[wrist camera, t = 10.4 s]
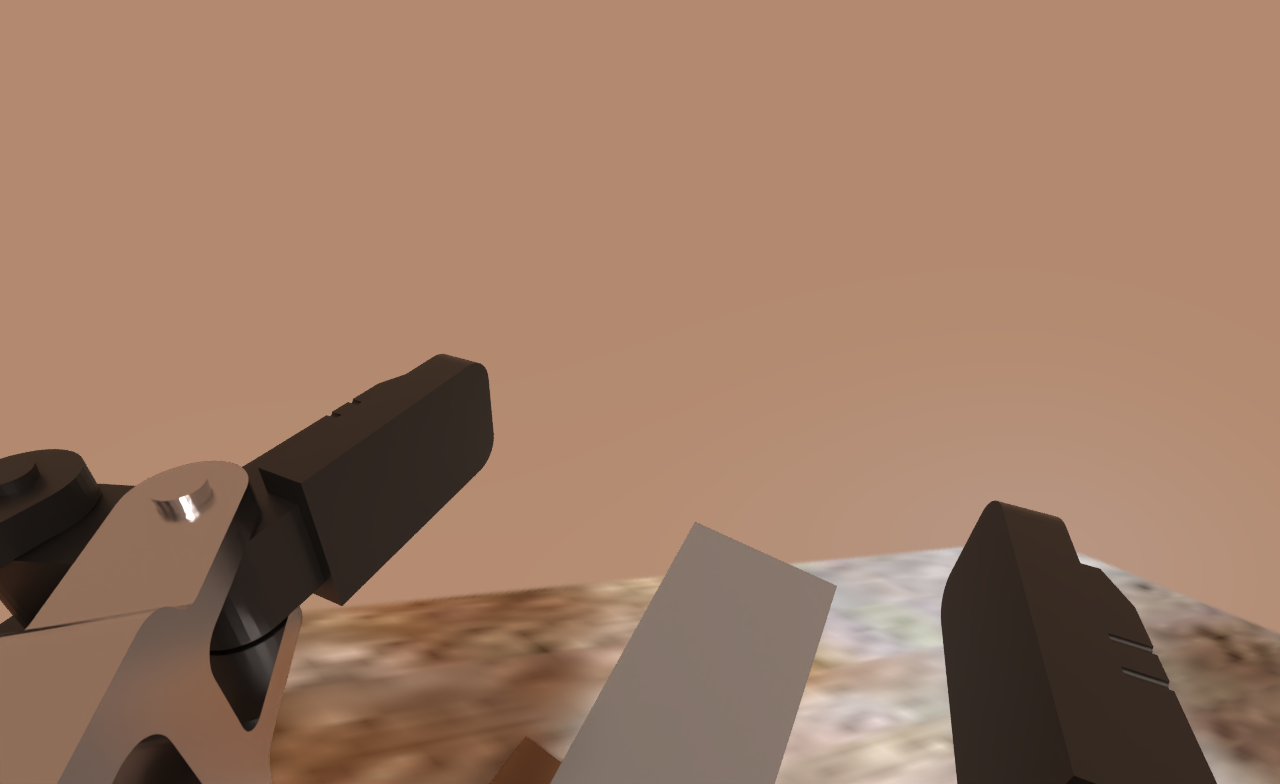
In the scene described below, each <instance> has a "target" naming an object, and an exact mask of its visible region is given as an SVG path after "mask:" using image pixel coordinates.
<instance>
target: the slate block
mask: <svg viewBox="0 0 1280 784" xmlns="http://www.w3.org/2000/svg"><path fill="white" fill-rule="evenodd" d="M836 587H837V586H836V585H834V584H831V583H829V582H827V581H825V580H822V579H820V578H818V577H816V576H814V575H811V574H809V573H807V572H805V571H803V570H800V569H798V568H796V567H794V566H792V565H789V564H787V563H785V562H783V561H781V560H778V559H776V558H774V557H772V556H770V555H767V554H765V553H763V552H761V551H758V550H756V549H754V548H752V547H749V546H747V545H745V544H743V543H741V542H739V541H736V540H734V539H732V538H730V537H728V536H725V535H723V534H721V533H719V532H717V531H714V530H712V529H710V528H708V527H705V526H703V525H701V524H699V523H697V522H695V523H694V525H693V527H692V528H691V530H690V532H689V534H688V536H687V538H686V539H685V541H684V543H683V545H682V546H681V548H680V550H679V552H678V554H677V556H676V557H675V559H674V561H673V563H672V564H671V566H670V568H669V570H668V572H667V573H666V575H665V577H664V579H663V581H662V583H661V584H660V586H659V588H658V590H657V592H656V593H655V595H654V597H653V599H652V601H651V602H650V604H649V606H648V608H647V610H646V611H645V613H644V615H643V617H642V619H641V620H640V622H639V624H638V626H637V628H636V629H635V631H634V633H633V635H632V637H631V638H630V640H629V642H628V644H627V646H626V648H625V649H624V651H623V653H622V655H621V657H620V658H619V660H618V662H617V664H616V666H615V667H614V669H613V671H612V673H611V675H610V676H609V678H608V680H607V682H606V684H605V685H604V687H603V689H602V691H601V693H600V694H599V696H598V698H597V700H596V702H595V704H594V705H593V707H592V709H591V711H590V713H589V714H588V716H587V718H586V720H585V722H584V723H583V725H582V727H581V729H580V731H579V732H578V734H577V736H576V738H575V740H574V741H573V743H572V745H571V747H570V749H569V750H568V752H567V754H566V756H565V758H564V760H563V761H562V763H561V765H560V767H559V769H558V770H557V772H556V774H555V776H554V778H553V779H552V781H551V783H550V784H775V781H776V778H777V774H778V771H779V768H780V765H781V762H782V759H783V755H784V752H785V749H786V746H787V743H788V739H789V736H790V733H791V730H792V727H793V724H794V720H795V717H796V714H797V711H798V708H799V705H800V701H801V698H802V695H803V692H804V689H805V686H806V682H807V679H808V676H809V673H810V670H811V667H812V663H813V660H814V657H815V654H816V651H817V648H818V644H819V641H820V638H821V635H822V632H823V629H824V625H825V622H826V619H827V616H828V613H829V610H830V606H831V603H832V600H833V597H834V594H835V591H836Z"/></svg>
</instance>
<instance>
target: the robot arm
mask: <svg viewBox="0 0 1280 784" xmlns="http://www.w3.org/2000/svg"><path fill="white" fill-rule="evenodd" d="M493 439H494V433H493V422H492V411H491V401H490V391H489V379H488V373H487V370H486V369H485V367H484V366H483V365H482V364H480V363H476V362H472V361H469V360H465V359H461V358H457V357H453V356H449V355H446V354H439V355H436V356H434V357H432V358H431V359H429V360H428V361H426V362H425V363H423V364H421V365H420V366H418V367H417V368H415V369H413V370H412V371H410V372H409V373H407V374H405V375H402V376H400V377H396V378H394V379H391V380H388V381H385V382H382V383H379V384H377V385H375V386H374V387H372V388H370V389H369V390H367V391H365V392H364V393H362V394H361V395H359V396H357V397H356V398H354V399H353V402H352V403H349V402H348V403H346V404H344V405H343V406H341V407H339V408H338V409H336V410H334V411H333V412H332V415H331V416H325V417H323V418H321V419H320V420H318V421H317V422H315V423H313V424H312V425H310V426H309V427H307V428H305V429H304V430H302V431H300V432H299V433H297V434H295V435H294V436H292V437H291V438H289V439H287V440H286V441H284V442H282V443H281V444H279V445H277V446H276V447H274V448H273V449H271V450H269V451H268V452H266V453H264V454H263V455H262V456H260V457H258V458H256V459H255V460H253V461H252V462H250V463H248V464H246V465H245V466H243V467H240V466H238V465H237V464H234V463H230V462H224V461H204V462H197V463H191V464H186V465H183V466H179V467H176V468H172V469H169V470H167V471H164V472H162V473H159V474H157V475H155V476H153V477H151V478H148V479H147V480H145V481H143V482H142V483H140V484H138V485H137V486H127V485H126V486H125V485H109V484H97V483H96V481H95V479H94V478H93V476H92V475H91V472H90V471H89V469H88V467H87V466H86V464H85V462H84V460H83V459H82V458H81V456H80V455H78V454H77V453H75V452H72V451H68V450H60V449H48V450H38V451H31V452H26V453H21V454H17V455H13V456H8V457H5V458H2V459H0V600H1V601H2V603H3V604H4V605H5V606H6V608H7V609H8V610H9V611H10V612H11V614H12V615H13V616H12V617H11V618H9V619H7V620H6V621H4V622H3V623H1V624H0V784H272V778H271V770H270V748H271V741H272V736H273V732H274V728H275V725H276V721H277V717H278V713H279V709H280V705H281V701H282V697H283V693H284V689H285V685H286V681H287V678H288V674H289V670H290V666H291V662H292V658H293V654H294V650H295V646H296V642H297V638H298V634H299V631H300V627H301V622H302V611H301V608H300V606H299V605H300V604H302V603H303V602H304V601H305V600H306V599H307V598H308V597H309V596H310V595H311V594H313V593H314V594H316V595H318V596H320V597H323V598H325V599H327V600H330V601H332V602H334V603H336V604H339V605H341V606H343V605H344V604H345V603H346V602H347V601H348V600H349V599H350V598H351V597H352V596H353V595H354V594H355V593H356V592H357V591H358V590H359V589H360V588H361V587H362V586H363V585H364V584H365V583H366V582H367V581H368V580H369V579H370V578H371V577H372V576H373V575H374V574H375V573H376V572H377V571H378V570H379V569H380V568H381V567H382V566H383V565H384V564H385V563H386V562H387V561H388V560H389V559H390V558H391V557H392V556H393V555H394V554H396V553H397V552H398V551H399V550H400V549H401V548H402V547H403V546H404V545H405V544H406V543H407V542H408V541H409V540H410V539H411V538H412V537H413V536H414V534H416V533H417V532H418V531H419V530H420V529H421V528H422V527H423V526H424V525H425V524H426V523H427V522H428V521H429V520H430V519H431V518H432V517H433V516H434V515H435V514H436V513H437V512H438V511H439V510H440V509H441V508H442V507H443V506H444V505H445V504H446V503H447V502H448V501H449V500H451V498H453V497H454V496H455V495H456V494H457V493H458V492H459V491H460V490H461V489H462V488H463V487H464V486H465V485H466V484H467V483H468V482H469V481H470V480H471V479H472V478H473V477H474V476H475V475H476V474H477V473H478V472H479V471H480V470H481V469H482V468H483V466H484V465H485V464H486V462H487V460H488V458H489V456H490V453H491V451H492V447H493V441H494V440H493ZM941 625H942V635H943V645H944V655H945V665H946V675H947V685H948V694H949V704H950V714H951V724H952V734H953V744H954V754H955V764H956V774H957V784H1217V783H1216V780H1215V778H1214V776H1213V774H1212V772H1211V770H1210V768H1209V765H1208V763H1207V761H1206V759H1205V757H1204V755H1203V752H1202V750H1201V748H1200V746H1199V744H1198V742H1197V740H1196V737H1195V735H1194V733H1193V731H1192V729H1191V727H1190V725H1189V722H1188V720H1187V718H1186V716H1185V714H1184V712H1183V709H1182V707H1181V705H1180V703H1179V701H1178V699H1177V697H1176V694H1175V692H1174V691H1172V690H1169V688H1168V684H1169V679H1168V677H1167V675H1166V673H1165V671H1164V669H1163V667H1162V664H1161V662H1160V660H1159V658H1158V656H1157V655H1155V654H1152V649H1153V645H1152V643H1151V641H1150V639H1149V636H1148V634H1147V632H1146V630H1145V628H1144V626H1143V624H1142V621H1141V619H1140V617H1139V615H1138V613H1137V611H1136V609H1135V607H1134V606H1133V605H1132V603H1131V602H1130V601H1129V600H1128V599H1127V598H1126V597H1125V596H1124V595H1123V594H1122V592H1121V591H1120V590H1119V589H1118V588H1117V587H1116V586H1115V585H1114V584H1113V583H1112V581H1111V580H1110V579H1109V578H1108V577H1107V576H1106V575H1105V574H1104V573H1103V572H1102V570H1101V569H1099V568H1095V567H1092V566H1088V565H1085V564H1081V563H1080V561H1079V559H1078V556H1077V554H1076V551H1075V549H1074V546H1073V543H1072V541H1071V539H1070V536H1069V533H1068V531H1067V528H1066V526H1065V524H1064V522H1063V521H1062V520H1061V519H1060V518H1058V517H1056V516H1052V515H1048V514H1044V513H1040V512H1037V511H1033V510H1029V509H1025V508H1021V507H1018V506H1014V505H1010V504H1006V503H1003V502H999V501H992V502H990V503H989V504H988V505H987V506H986V507H985V509H984V511H983V512H982V514H981V516H980V518H979V520H978V522H977V523H976V525H975V528H974V529H973V531H972V533H971V535H970V537H969V539H968V541H967V543H966V545H965V546H964V548H963V550H962V552H961V554H960V556H959V558H958V560H957V562H956V564H955V566H954V568H953V569H952V571H951V573H950V575H949V578H948V580H947V583H946V586H945V589H944V594H943V599H942V606H941Z"/></svg>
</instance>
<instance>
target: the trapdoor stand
mask: <svg viewBox="0 0 1280 784" xmlns="http://www.w3.org/2000/svg"><path fill="white" fill-rule="evenodd" d="M560 765H561V762H560V761H558V760H557V759H556V758H554V757H553V756H552V755H550V754H549V753H548V752H546V751H545V750H544V749H542V748H541V747H540V746H538V745H537V744H535V743H534V742H533V741H531V740H530V739H529V738H527V737H525V738H524V739H523V741H522V742H521V743H520V745H519V746H518V747H517V749H516V750H515V751H514V753H513V754H512V755H511V757H510V758H509V759H508V761H507V762H506V763H505V765H504V766H503V767H502V768H501V770H500V771H499V772H498V774H497V775H496V776H495V778H494V779H493V780H492V782H491V783H490V784H550V783H551V781H552V779H553V778H554V776H555V774H556V772H557V770H558V769H559V767H560Z"/></svg>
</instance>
